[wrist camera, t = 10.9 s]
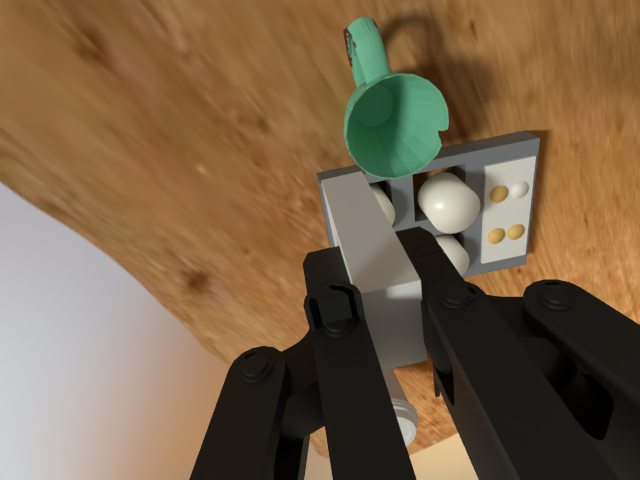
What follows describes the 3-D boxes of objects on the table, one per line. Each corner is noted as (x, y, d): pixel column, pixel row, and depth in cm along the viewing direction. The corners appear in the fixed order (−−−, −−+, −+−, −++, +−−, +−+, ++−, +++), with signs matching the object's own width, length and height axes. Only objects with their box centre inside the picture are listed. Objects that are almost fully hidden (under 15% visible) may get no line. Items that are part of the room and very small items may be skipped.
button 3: (414, 233, 55) (425, 251, 52) (455, 225, 56) (469, 242, 52) (415, 268, 58) (427, 287, 54) (455, 259, 58) (469, 278, 55)
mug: (425, 126, 49) (460, 154, 41) (347, 161, 50) (366, 195, 42) (386, -8, 42) (419, -8, 33) (296, 36, 43) (306, 47, 34)
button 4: (416, 178, 49) (430, 193, 45) (463, 168, 49) (481, 183, 45) (418, 219, 52) (431, 237, 48) (463, 210, 52) (479, 227, 48)
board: (316, 173, 50) (320, 185, 47) (525, 130, 51) (543, 139, 48) (337, 290, 60) (341, 306, 57) (514, 252, 60) (528, 266, 57)
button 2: (337, 185, 51) (344, 201, 47) (383, 176, 51) (393, 191, 47) (343, 225, 53) (350, 243, 50) (386, 216, 54) (396, 234, 50)
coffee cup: (325, 370, 68) (341, 459, 55) (340, 325, 63) (361, 410, 50) (380, 374, 70) (408, 460, 57) (399, 331, 65) (433, 414, 52)
